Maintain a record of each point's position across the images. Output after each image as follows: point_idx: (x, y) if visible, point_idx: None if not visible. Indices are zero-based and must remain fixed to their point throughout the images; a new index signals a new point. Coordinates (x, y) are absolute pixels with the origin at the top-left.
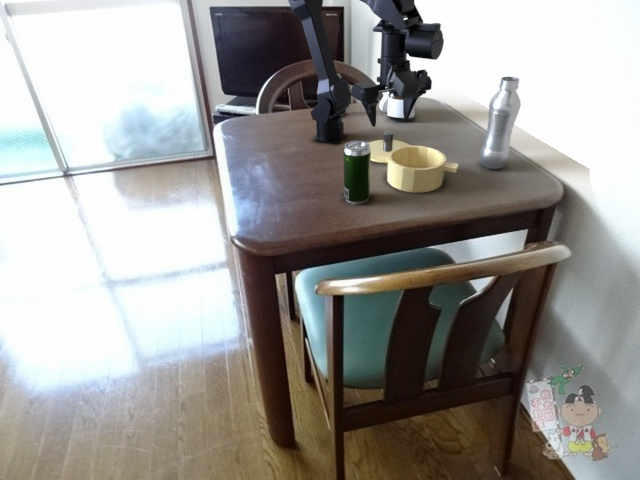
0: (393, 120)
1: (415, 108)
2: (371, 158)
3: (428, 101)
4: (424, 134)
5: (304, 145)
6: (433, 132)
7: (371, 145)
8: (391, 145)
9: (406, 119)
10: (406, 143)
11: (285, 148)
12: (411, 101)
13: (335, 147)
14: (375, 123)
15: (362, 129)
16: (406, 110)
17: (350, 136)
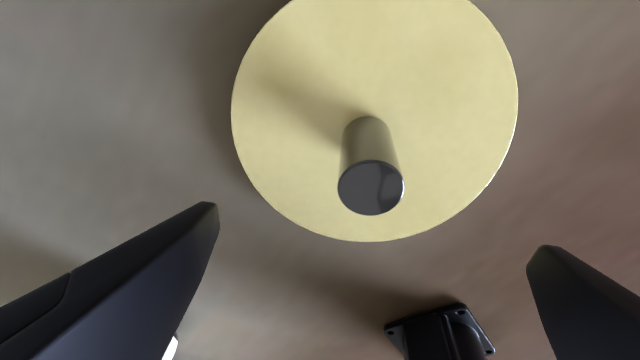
0: None
1: None
2: (515, 104)
3: None
4: (106, 189)
5: (542, 343)
6: (61, 183)
7: (391, 215)
8: (365, 127)
9: (215, 204)
10: (238, 143)
11: None
12: (36, 358)
13: (480, 286)
14: (569, 263)
15: (296, 325)
16: (175, 275)
17: (367, 313)
